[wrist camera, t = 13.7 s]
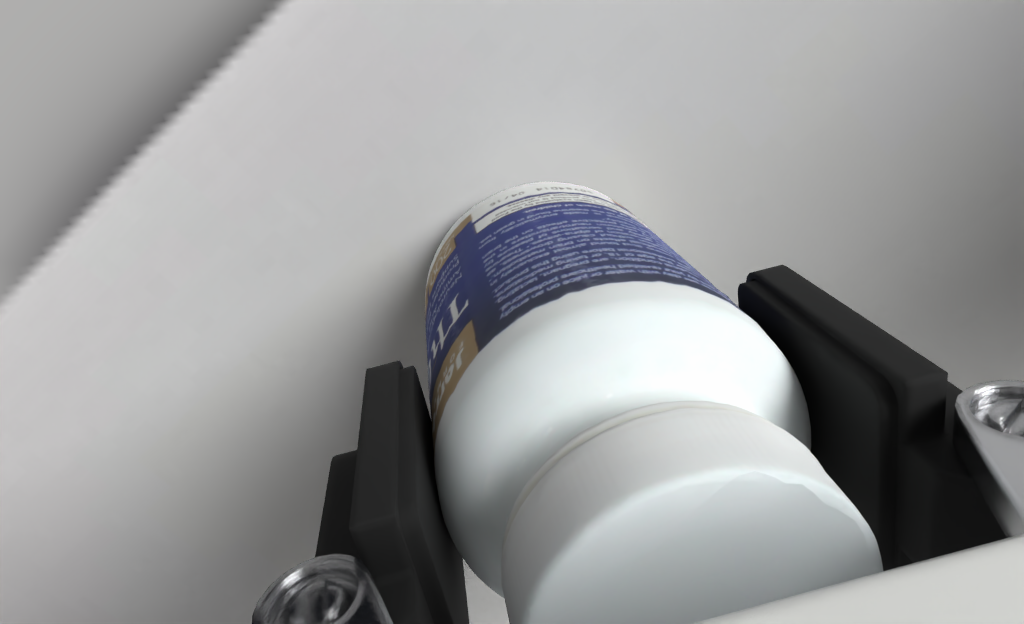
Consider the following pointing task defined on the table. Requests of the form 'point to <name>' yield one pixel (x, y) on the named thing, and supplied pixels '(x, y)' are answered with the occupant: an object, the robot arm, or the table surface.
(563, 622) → the pill bottle
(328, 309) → the table surface
